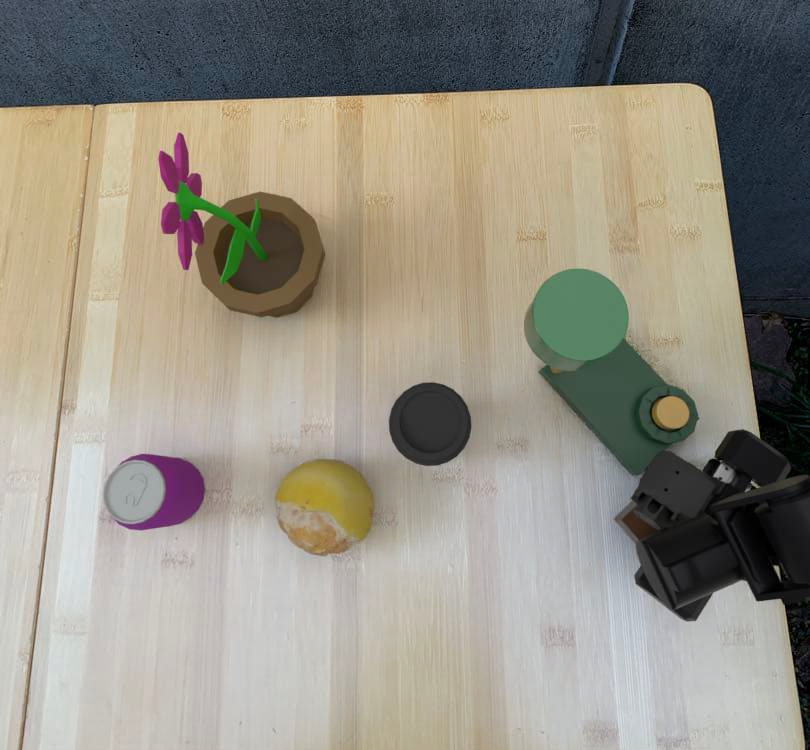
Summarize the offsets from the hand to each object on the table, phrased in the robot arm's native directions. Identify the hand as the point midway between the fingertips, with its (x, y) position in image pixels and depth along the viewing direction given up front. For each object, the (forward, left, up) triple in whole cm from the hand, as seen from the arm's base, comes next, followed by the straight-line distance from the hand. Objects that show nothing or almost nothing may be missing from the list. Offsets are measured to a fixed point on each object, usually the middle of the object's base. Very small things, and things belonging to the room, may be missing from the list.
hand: (681, 518), depth 74 cm
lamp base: (+14, -5, -4) cm, 15 cm away
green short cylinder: (+23, +1, +18) cm, 29 cm away
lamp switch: (+9, -7, 0) cm, 11 cm away
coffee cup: (+25, +15, -4) cm, 29 cm away
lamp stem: (+21, -1, -4) cm, 21 cm away
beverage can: (+39, +42, -4) cm, 57 cm away
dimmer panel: (0, 0, -4) cm, 4 cm away
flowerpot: (+52, +17, -4) cm, 55 cm away
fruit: (+26, +29, -4) cm, 39 cm away
